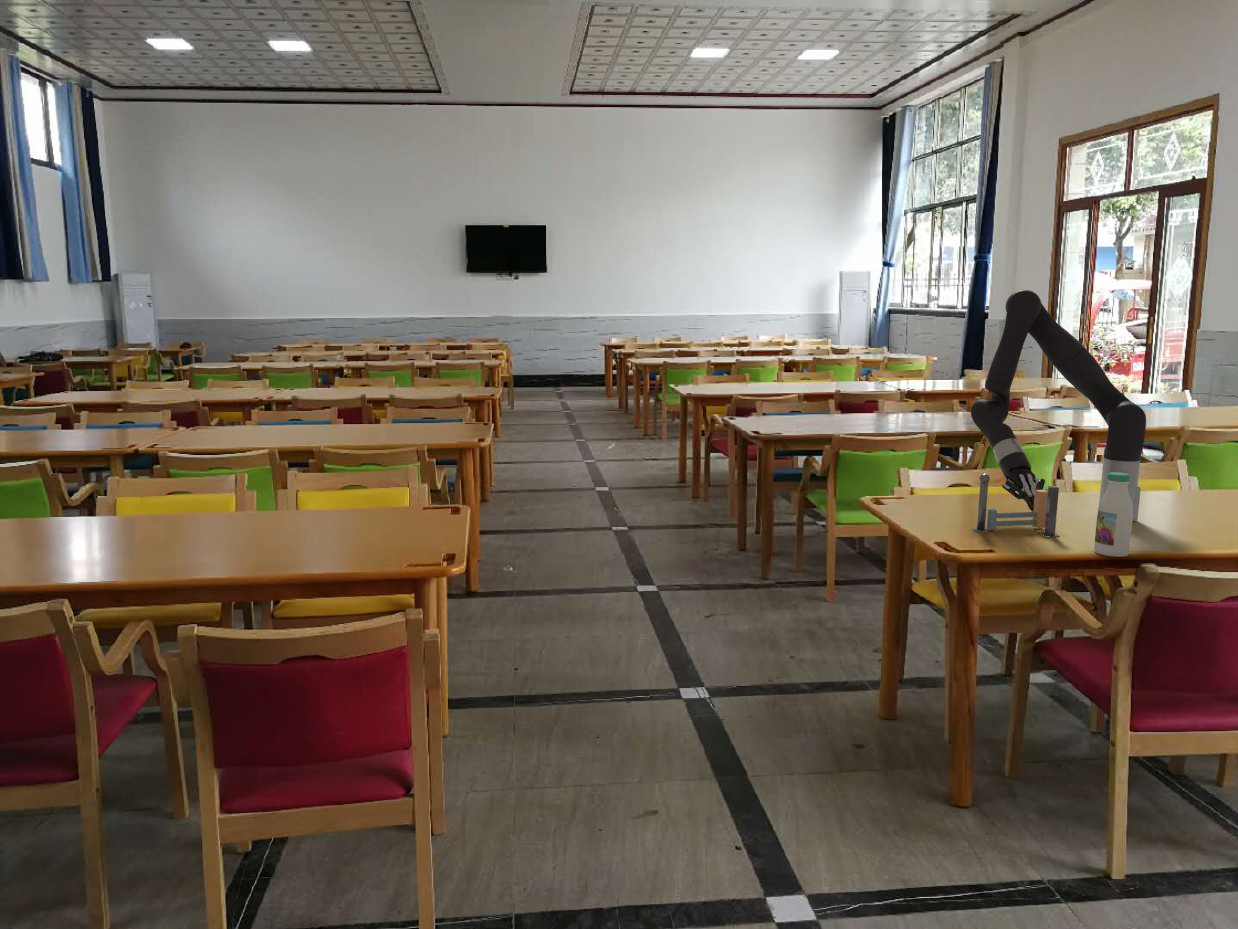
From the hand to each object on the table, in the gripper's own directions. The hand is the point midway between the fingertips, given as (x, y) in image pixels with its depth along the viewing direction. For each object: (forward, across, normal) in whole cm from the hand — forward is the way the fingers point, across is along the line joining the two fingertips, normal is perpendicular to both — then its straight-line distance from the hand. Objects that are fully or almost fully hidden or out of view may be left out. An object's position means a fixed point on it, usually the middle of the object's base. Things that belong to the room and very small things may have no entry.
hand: (1036, 510), depth 259 cm
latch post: (+9, -2, -3) cm, 10 cm away
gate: (+4, -7, +2) cm, 8 cm away
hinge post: (+4, -17, +3) cm, 18 cm away
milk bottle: (+23, 0, -16) cm, 28 cm away
